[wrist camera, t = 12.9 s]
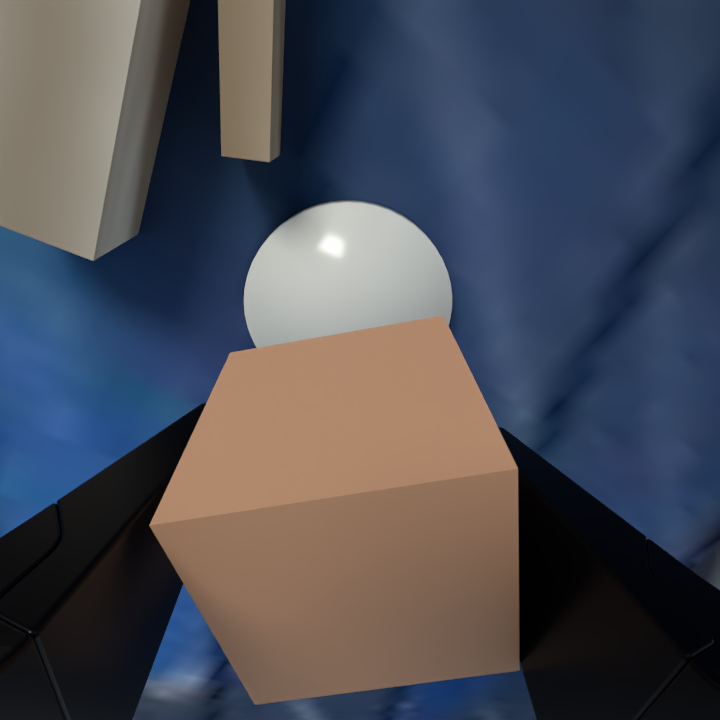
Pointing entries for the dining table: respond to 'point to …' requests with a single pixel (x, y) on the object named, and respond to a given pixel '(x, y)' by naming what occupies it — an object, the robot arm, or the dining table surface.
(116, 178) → the beige rectangular block
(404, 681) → the block
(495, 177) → the dining table surface
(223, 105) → the channel
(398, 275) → the white flat disc
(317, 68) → the dining table surface
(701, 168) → the dining table surface
